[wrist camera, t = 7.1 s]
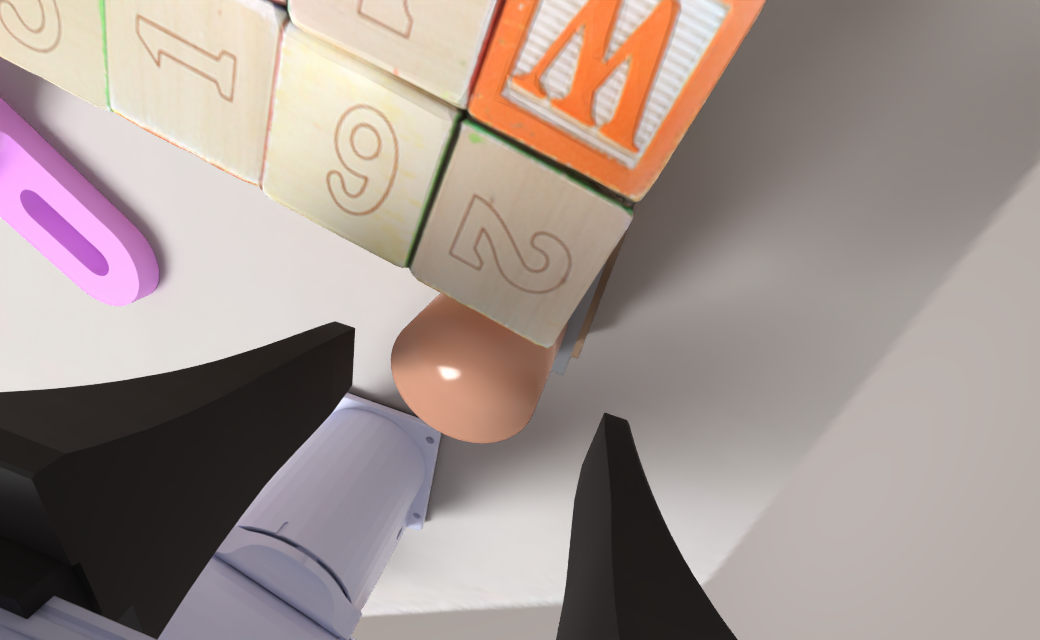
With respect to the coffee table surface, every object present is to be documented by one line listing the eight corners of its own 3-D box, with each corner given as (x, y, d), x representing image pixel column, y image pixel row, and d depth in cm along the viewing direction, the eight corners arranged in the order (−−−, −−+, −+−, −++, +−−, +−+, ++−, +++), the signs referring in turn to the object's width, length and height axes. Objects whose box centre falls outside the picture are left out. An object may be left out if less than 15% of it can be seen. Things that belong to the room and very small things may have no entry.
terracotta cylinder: (554, 376, 18) (522, 462, 14) (447, 343, 18) (389, 415, 15) (581, 273, 15) (551, 342, 12) (458, 239, 16) (392, 294, 12)
